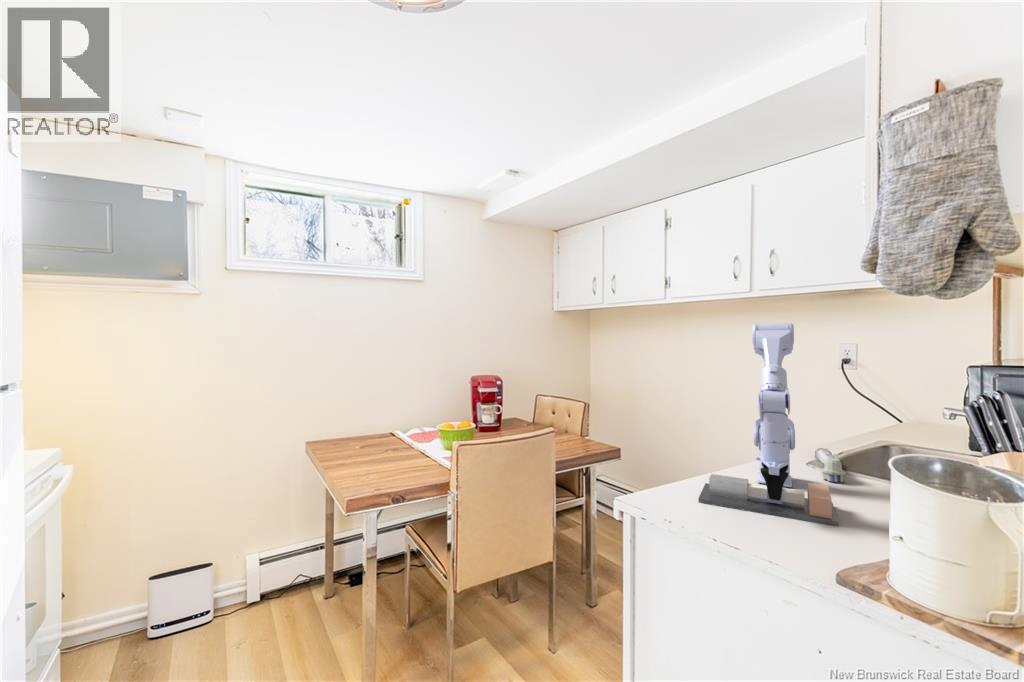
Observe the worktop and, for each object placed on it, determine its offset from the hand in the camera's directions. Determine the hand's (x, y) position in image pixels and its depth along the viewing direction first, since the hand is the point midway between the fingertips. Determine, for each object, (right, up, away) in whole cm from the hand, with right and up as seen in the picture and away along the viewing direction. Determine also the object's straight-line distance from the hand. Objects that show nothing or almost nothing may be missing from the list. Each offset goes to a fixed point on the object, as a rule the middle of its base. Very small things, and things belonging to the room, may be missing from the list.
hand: (774, 496), depth 105 cm
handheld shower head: (+31, -2, +25) cm, 39 cm away
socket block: (+7, -1, -5) cm, 9 cm away
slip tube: (-2, -1, +1) cm, 2 cm away
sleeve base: (-2, -2, +1) cm, 3 cm away
